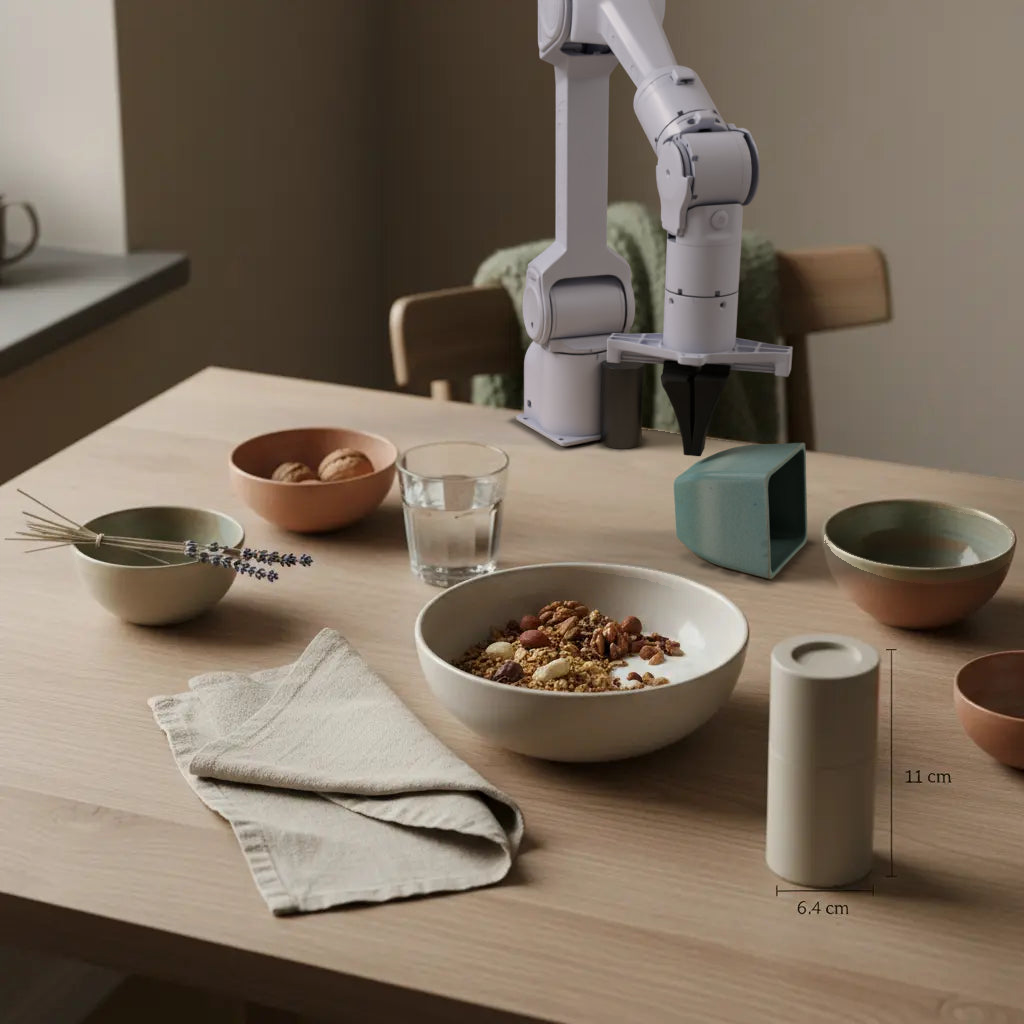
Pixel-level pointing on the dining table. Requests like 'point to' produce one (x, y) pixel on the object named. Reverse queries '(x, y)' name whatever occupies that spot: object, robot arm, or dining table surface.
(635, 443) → the cylinder
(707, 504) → the flower pot
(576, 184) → the robot arm
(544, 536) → the dining table surface
